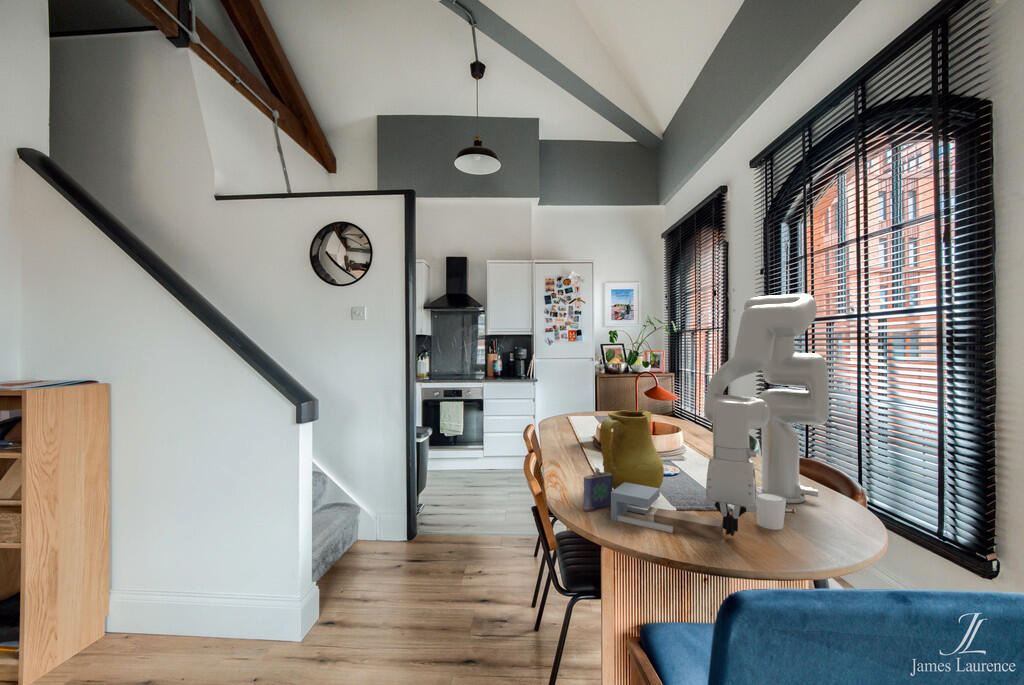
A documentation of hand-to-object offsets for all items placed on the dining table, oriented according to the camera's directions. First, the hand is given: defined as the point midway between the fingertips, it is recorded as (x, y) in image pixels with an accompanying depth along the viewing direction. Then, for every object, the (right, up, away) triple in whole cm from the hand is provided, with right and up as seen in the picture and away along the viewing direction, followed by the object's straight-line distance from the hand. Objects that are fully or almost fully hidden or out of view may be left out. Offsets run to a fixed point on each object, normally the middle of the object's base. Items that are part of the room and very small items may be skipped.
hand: (730, 533), depth 103 cm
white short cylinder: (+14, -2, +8) cm, 16 cm away
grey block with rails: (-16, -1, +11) cm, 19 cm away
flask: (-27, -2, +19) cm, 33 cm away
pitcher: (-15, -2, +29) cm, 33 cm away
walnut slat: (-9, -1, +5) cm, 10 cm away
